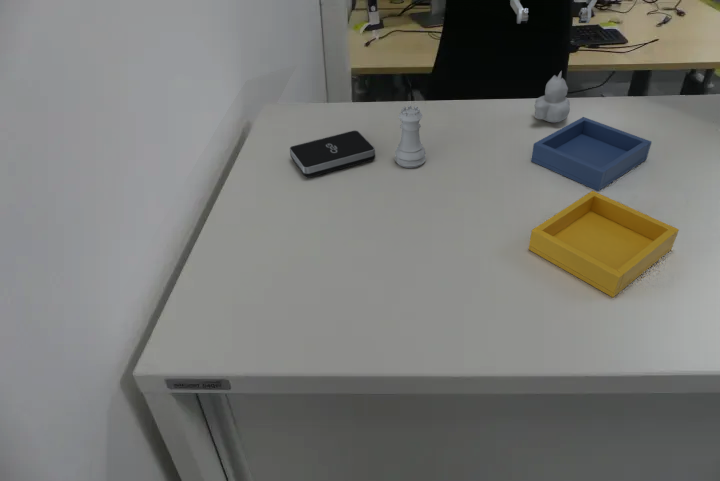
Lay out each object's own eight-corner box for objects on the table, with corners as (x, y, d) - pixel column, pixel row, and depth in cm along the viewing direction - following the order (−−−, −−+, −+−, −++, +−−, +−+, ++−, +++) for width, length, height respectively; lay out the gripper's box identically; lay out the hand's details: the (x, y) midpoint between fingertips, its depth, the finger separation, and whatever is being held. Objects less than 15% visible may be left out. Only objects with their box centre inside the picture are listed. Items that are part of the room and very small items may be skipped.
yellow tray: (587, 209, 69) (592, 190, 67) (671, 249, 62) (679, 229, 61) (528, 249, 64) (531, 229, 62) (613, 297, 57) (619, 277, 55)
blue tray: (579, 133, 84) (583, 116, 83) (646, 159, 78) (652, 141, 76) (530, 161, 79) (533, 143, 77) (598, 191, 72) (602, 172, 70)
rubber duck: (577, 121, 87) (587, 71, 82) (546, 133, 85) (555, 83, 80) (550, 109, 91) (558, 61, 86) (520, 120, 89) (527, 71, 84)
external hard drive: (377, 161, 81) (376, 149, 80) (304, 181, 78) (303, 169, 76) (357, 141, 86) (356, 129, 85) (289, 159, 83) (287, 147, 81)
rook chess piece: (432, 162, 80) (433, 110, 75) (407, 172, 78) (407, 120, 73) (412, 150, 83) (413, 99, 78) (388, 160, 81) (387, 108, 76)
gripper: (490, -72, 88) (487, 12, 86) (628, -76, 85) (627, 10, 83) (486, -47, 94) (483, 31, 92) (615, -50, 91) (614, 31, 89)
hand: (553, 21), depth 88 cm, fingers open, 8 cm apart
